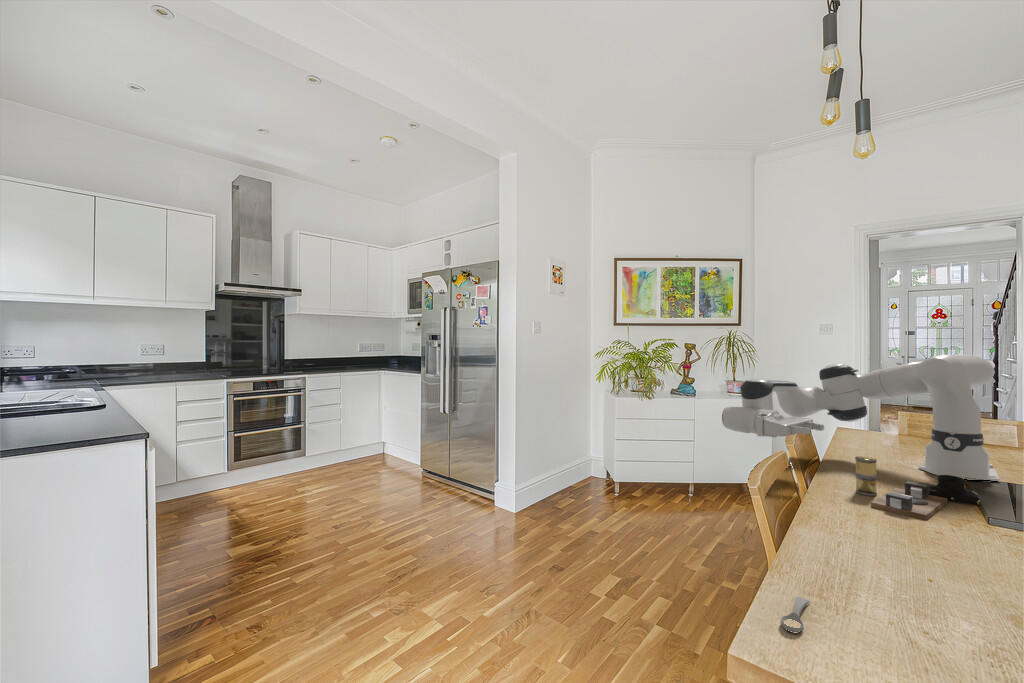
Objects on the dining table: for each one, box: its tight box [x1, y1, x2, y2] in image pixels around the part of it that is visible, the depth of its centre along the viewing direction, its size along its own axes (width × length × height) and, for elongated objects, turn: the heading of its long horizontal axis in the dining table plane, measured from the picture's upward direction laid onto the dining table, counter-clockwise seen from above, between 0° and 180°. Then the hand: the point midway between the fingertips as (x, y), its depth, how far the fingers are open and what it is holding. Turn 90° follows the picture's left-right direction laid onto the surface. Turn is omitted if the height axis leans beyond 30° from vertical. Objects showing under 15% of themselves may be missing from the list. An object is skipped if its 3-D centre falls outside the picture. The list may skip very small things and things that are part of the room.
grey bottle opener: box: [780, 596, 811, 632], centre depth 72 cm, size 3×12×2 cm, turn 139°
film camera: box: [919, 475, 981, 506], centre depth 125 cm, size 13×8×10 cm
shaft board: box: [870, 480, 948, 521], centre depth 120 cm, size 20×11×4 cm, turn 126°
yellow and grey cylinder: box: [854, 455, 878, 497], centre depth 129 cm, size 5×5×10 cm
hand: (816, 429), depth 139 cm, fingers open, 8 cm apart
